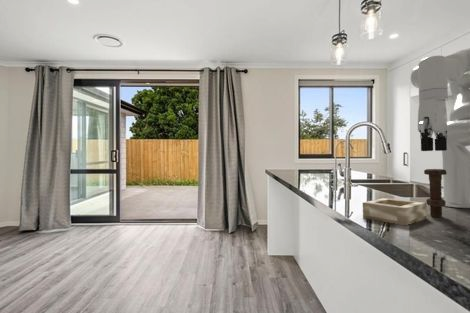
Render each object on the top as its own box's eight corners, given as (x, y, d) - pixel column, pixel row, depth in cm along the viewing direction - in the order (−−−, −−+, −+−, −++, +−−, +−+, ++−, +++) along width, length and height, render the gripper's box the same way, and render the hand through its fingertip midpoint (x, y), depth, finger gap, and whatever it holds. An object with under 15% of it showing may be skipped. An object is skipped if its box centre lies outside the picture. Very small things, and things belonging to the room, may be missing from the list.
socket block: (384, 212, 99) (384, 197, 99) (426, 218, 88) (426, 202, 88) (363, 218, 92) (362, 202, 91) (405, 225, 81) (405, 208, 81)
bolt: (450, 218, 87) (448, 169, 87) (431, 218, 88) (430, 170, 88) (440, 214, 93) (439, 168, 93) (423, 214, 94) (422, 169, 94)
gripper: (431, 101, 98) (432, 150, 98) (406, 96, 88) (408, 151, 88) (458, 97, 92) (459, 150, 92) (434, 91, 82) (435, 150, 82)
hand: (434, 150), depth 90 cm, fingers open, 9 cm apart
